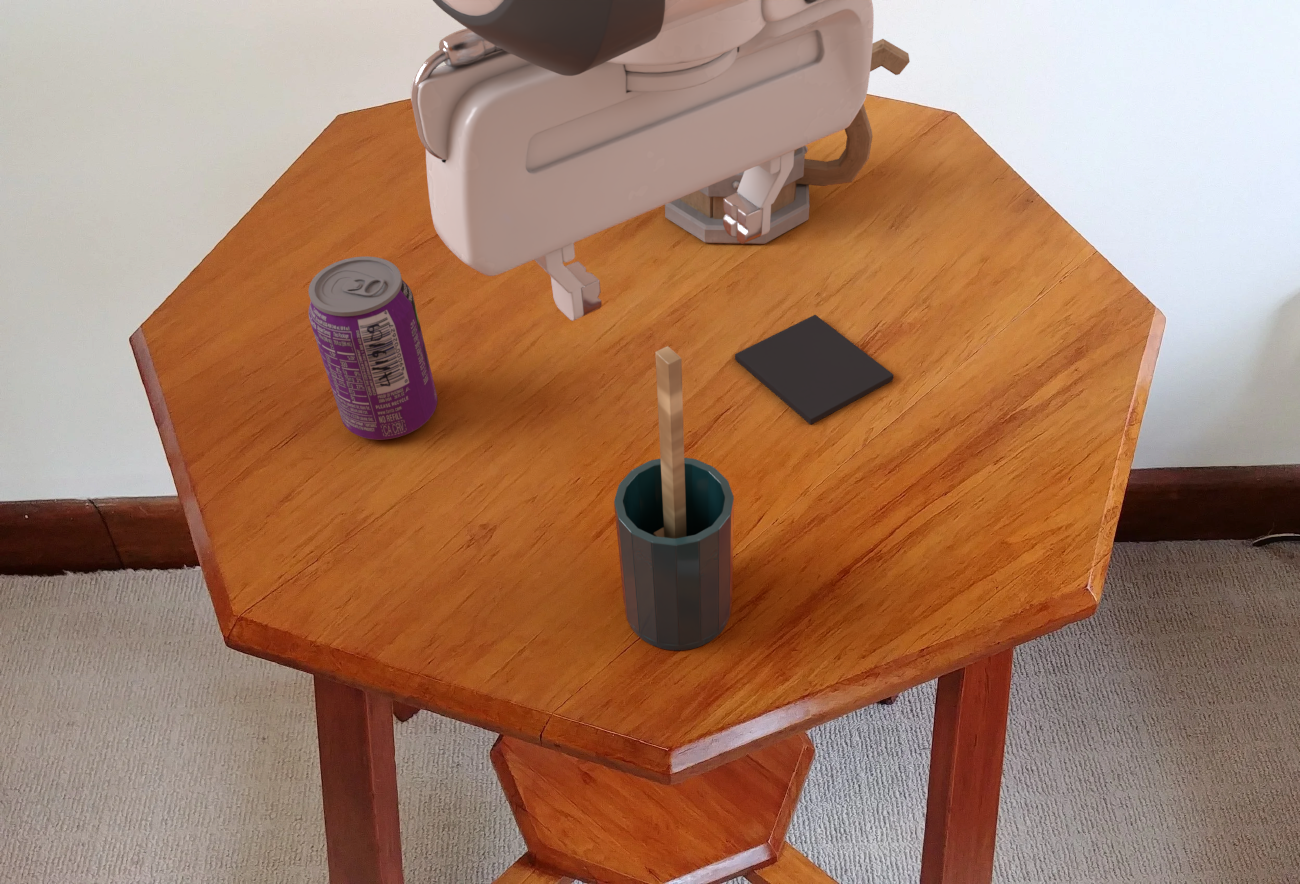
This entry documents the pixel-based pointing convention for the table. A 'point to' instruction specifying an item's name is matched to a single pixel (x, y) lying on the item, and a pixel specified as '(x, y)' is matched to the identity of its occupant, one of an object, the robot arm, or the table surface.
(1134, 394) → the table surface
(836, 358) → the mat
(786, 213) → the tankard
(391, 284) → the beverage can
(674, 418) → the wooden stir stick
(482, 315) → the table surface
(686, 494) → the cup
